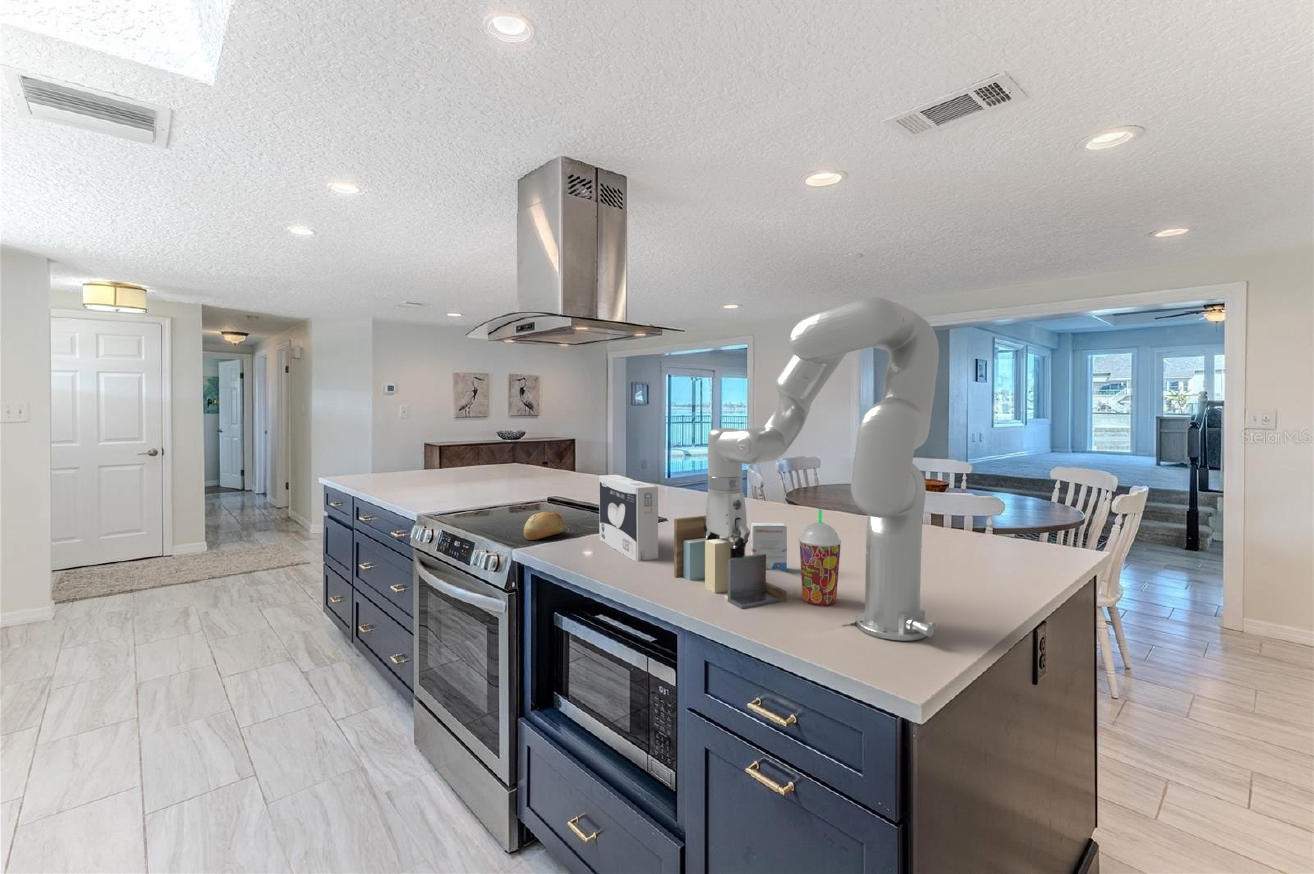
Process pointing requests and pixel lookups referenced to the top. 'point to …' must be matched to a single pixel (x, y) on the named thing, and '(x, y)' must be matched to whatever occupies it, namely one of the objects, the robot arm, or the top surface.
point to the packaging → (629, 516)
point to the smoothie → (819, 563)
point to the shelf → (695, 530)
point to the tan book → (717, 564)
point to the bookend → (748, 581)
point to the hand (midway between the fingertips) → (724, 560)
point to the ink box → (770, 544)
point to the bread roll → (543, 525)
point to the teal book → (694, 559)
